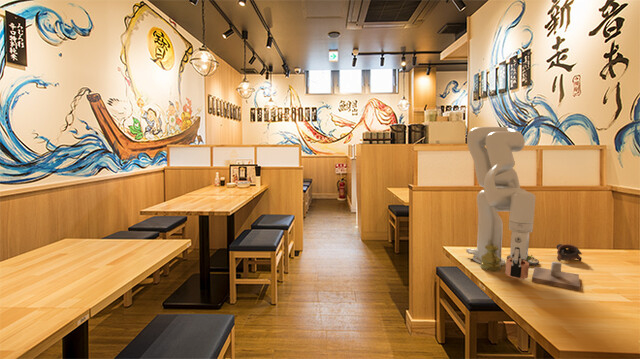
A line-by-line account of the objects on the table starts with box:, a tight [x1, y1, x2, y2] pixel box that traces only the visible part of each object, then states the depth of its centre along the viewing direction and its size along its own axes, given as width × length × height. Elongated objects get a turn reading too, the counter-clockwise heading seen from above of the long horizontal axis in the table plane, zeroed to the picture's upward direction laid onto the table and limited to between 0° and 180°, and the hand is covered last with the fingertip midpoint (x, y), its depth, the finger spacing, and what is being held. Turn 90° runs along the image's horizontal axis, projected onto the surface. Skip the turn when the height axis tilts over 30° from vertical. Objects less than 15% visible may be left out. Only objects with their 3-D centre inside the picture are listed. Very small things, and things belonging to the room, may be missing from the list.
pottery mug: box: [556, 243, 583, 262], centre depth 147 cm, size 12×10×8 cm
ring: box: [505, 258, 530, 280], centre depth 122 cm, size 7×7×5 cm
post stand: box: [531, 261, 581, 292], centre depth 125 cm, size 14×14×6 cm
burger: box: [506, 254, 540, 267], centre depth 145 cm, size 12×12×8 cm
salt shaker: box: [480, 244, 502, 272], centre depth 136 cm, size 7×7×10 cm
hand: (516, 272), depth 122 cm, fingers closed on ring, 7 cm apart
